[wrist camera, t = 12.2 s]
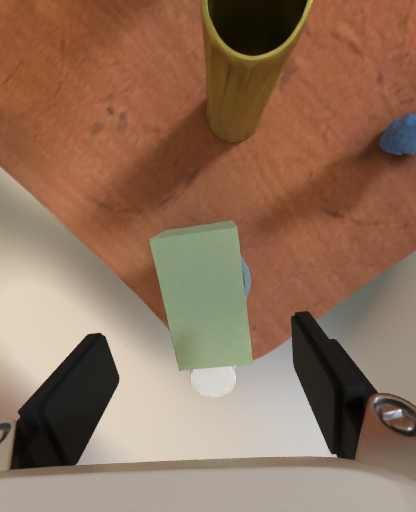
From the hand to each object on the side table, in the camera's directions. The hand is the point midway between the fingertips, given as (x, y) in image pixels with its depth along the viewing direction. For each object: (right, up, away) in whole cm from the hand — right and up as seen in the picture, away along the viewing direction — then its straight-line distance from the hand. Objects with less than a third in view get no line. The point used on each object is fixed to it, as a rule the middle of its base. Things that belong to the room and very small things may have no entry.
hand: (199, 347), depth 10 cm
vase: (+3, +20, +13) cm, 25 cm away
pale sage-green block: (0, +2, +9) cm, 9 cm away
